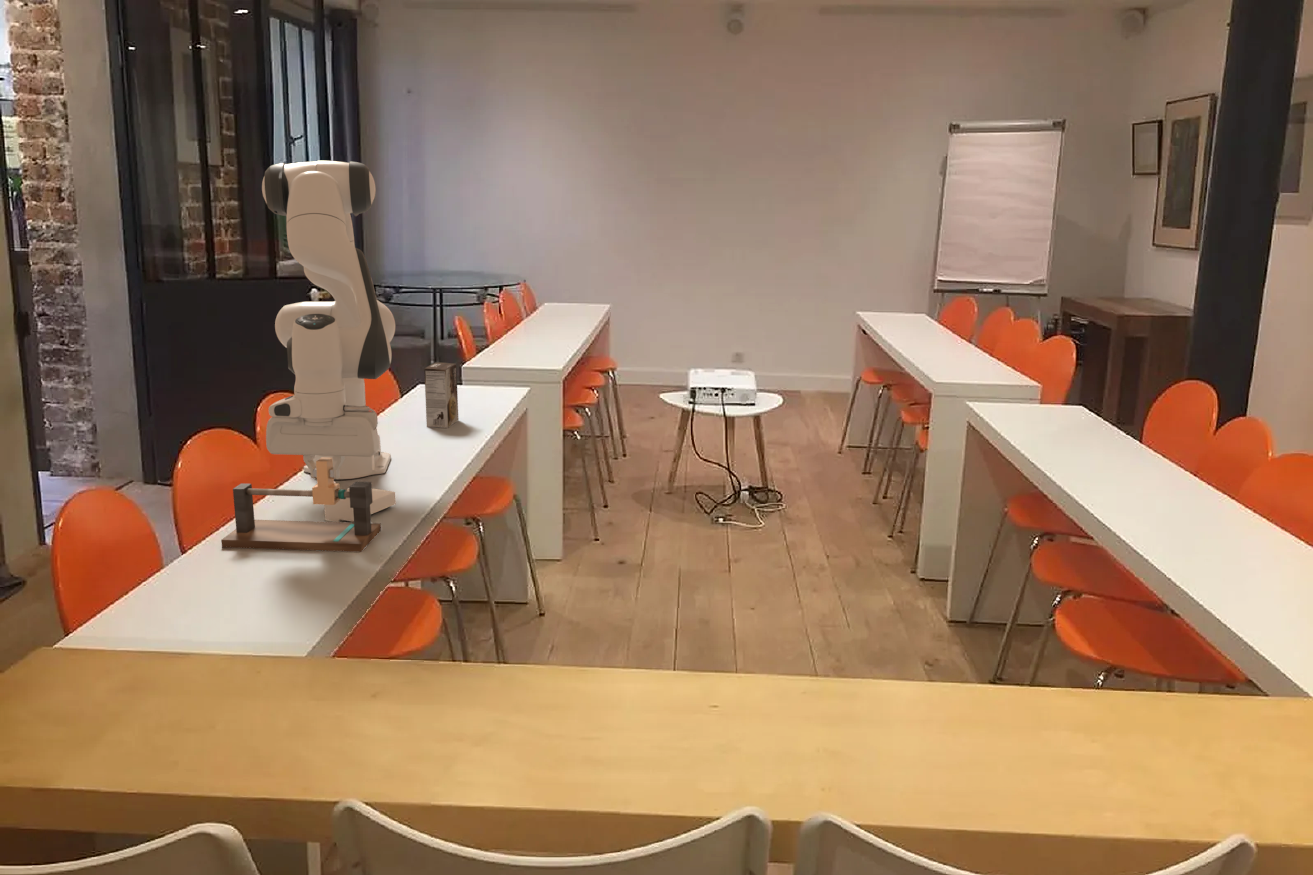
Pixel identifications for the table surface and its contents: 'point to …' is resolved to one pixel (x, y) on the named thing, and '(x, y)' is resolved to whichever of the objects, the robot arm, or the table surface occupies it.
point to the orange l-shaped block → (325, 484)
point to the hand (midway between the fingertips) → (325, 477)
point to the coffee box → (441, 394)
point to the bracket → (344, 512)
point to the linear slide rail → (302, 523)
